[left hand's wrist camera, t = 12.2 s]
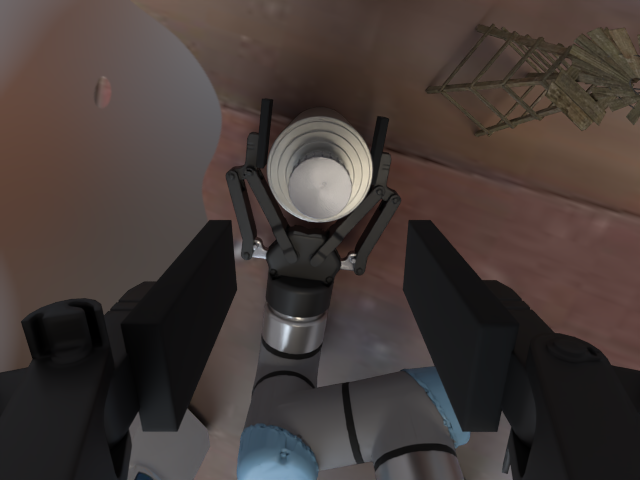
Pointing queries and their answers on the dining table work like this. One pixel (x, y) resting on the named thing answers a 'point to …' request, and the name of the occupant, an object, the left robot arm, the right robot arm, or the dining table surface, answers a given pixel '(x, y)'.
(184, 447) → the electronic device
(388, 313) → the dining table surface
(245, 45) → the dining table surface
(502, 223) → the dining table surface
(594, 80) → the miniature windmill
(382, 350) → the dining table surface
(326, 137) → the bottle
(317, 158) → the cap
